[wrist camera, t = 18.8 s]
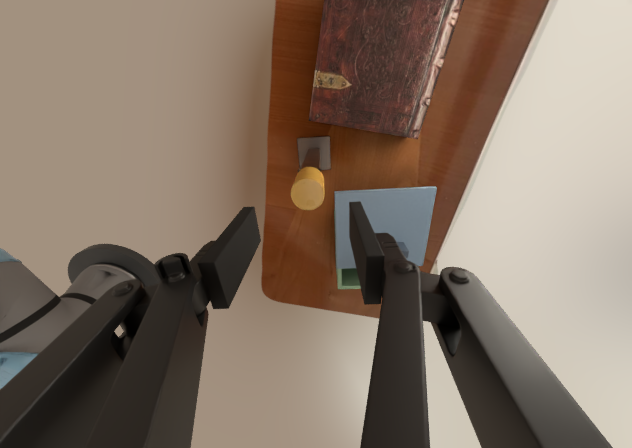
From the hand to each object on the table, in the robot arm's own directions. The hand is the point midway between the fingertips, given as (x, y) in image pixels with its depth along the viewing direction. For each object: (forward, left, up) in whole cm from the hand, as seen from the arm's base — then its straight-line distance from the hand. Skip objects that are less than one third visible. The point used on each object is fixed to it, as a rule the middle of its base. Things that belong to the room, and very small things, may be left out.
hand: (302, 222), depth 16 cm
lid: (+6, -16, -22) cm, 28 cm away
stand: (0, 0, -31) cm, 31 cm away
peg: (0, 0, -11) cm, 11 cm away
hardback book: (+17, +13, -31) cm, 38 cm away
